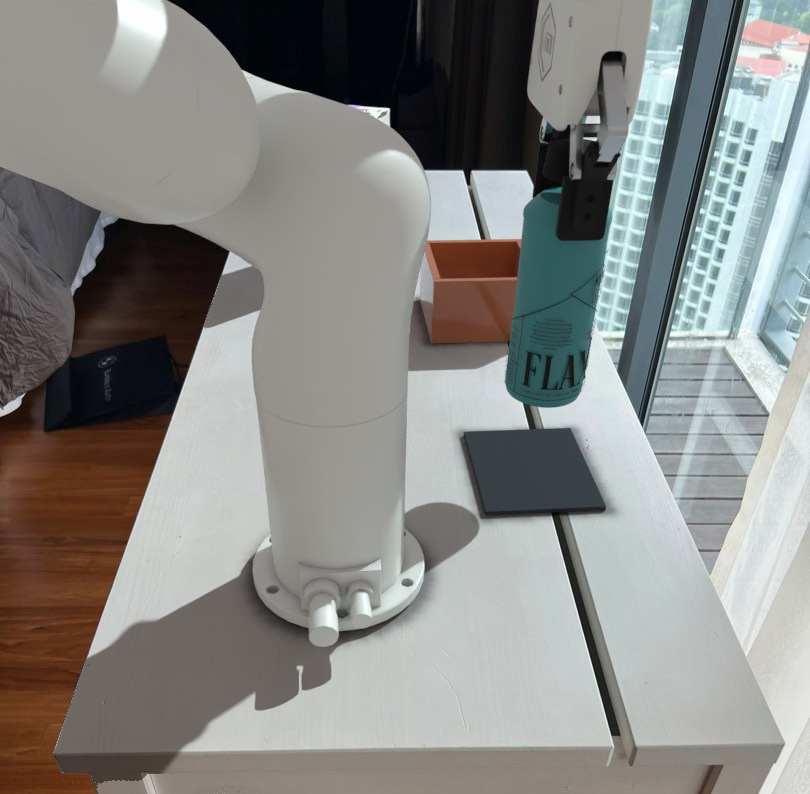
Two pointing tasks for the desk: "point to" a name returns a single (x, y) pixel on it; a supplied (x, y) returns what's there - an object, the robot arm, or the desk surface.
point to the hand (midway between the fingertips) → (566, 217)
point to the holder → (469, 289)
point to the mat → (531, 472)
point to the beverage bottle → (553, 298)
